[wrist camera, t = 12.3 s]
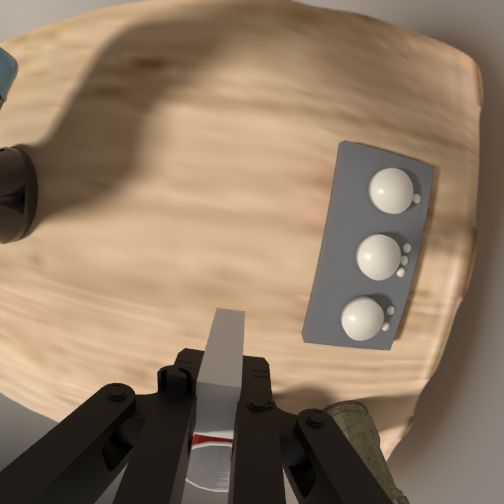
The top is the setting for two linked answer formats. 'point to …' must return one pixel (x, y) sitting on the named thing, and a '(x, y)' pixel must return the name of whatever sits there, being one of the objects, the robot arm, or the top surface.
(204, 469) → the plastic cup
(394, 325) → the button panel
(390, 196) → the button one dot
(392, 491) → the thermos
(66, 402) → the top surface
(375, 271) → the button three dots
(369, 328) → the button two dots
